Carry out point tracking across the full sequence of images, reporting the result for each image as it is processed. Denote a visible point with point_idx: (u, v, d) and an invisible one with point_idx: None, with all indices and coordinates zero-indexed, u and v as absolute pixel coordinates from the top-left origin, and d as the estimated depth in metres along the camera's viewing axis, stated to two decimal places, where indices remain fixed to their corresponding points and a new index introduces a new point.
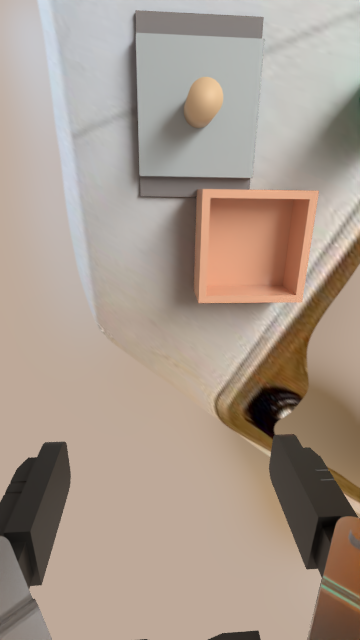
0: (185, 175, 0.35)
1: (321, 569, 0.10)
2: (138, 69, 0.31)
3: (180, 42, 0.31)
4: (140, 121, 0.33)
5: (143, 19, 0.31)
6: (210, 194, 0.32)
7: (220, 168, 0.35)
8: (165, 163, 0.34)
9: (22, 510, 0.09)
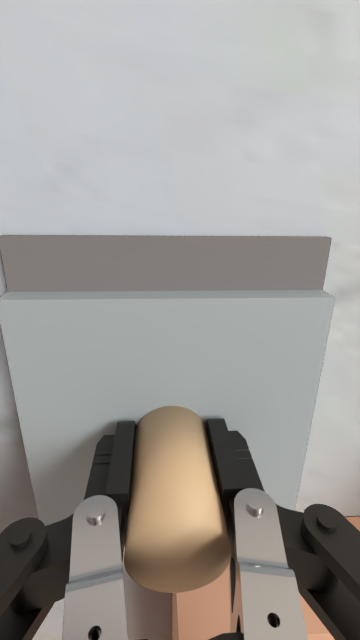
0: None
1: None
2: (14, 371, 0.12)
3: (118, 314, 0.12)
4: (33, 461, 0.14)
5: (21, 254, 0.12)
6: None
7: None
8: None
9: (116, 476, 0.11)
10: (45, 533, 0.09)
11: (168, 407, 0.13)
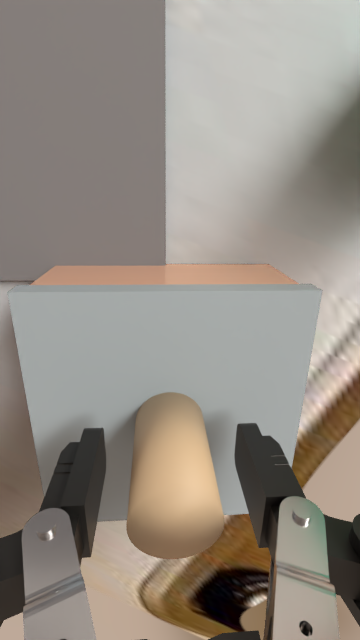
0: None
1: (270, 546, 0.10)
2: (23, 359, 0.13)
3: (120, 306, 0.13)
4: (40, 444, 0.15)
5: None
6: None
7: None
8: (102, 503, 0.16)
9: (74, 487, 0.10)
10: None
11: (167, 393, 0.14)
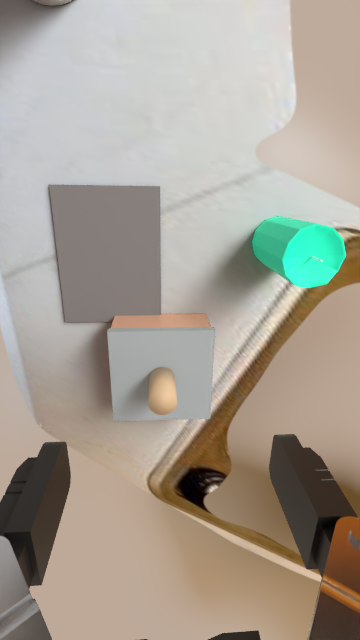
0: (152, 419, 0.41)
1: (321, 569, 0.10)
2: (110, 354, 0.38)
3: (144, 336, 0.37)
4: (113, 386, 0.39)
5: (56, 191, 0.36)
6: None
7: (182, 413, 0.41)
8: (135, 412, 0.41)
9: (22, 510, 0.09)
10: None
11: (161, 367, 0.39)
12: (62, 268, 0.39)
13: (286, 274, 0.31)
